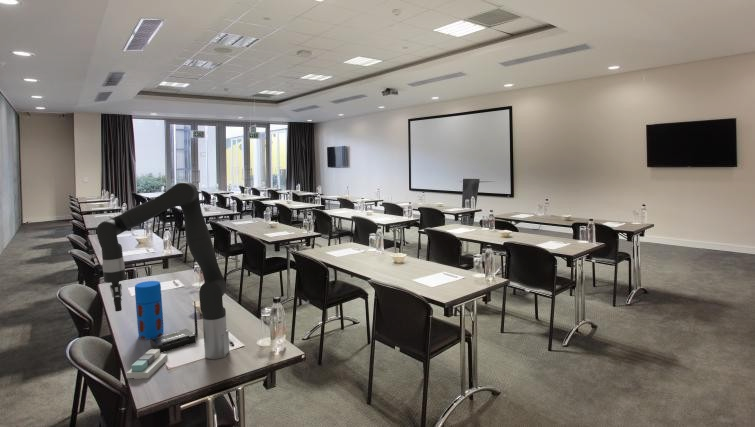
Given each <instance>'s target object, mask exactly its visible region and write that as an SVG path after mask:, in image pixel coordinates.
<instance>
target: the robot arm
mask: <svg viewBox="0 0 755 427" xmlns="http://www.w3.org/2000/svg"><path fill="white" fill-rule="evenodd" d="M176 207H180V209H181V211H182V214H183V219H184V233H185V238H186V242H187V246H188V249H189V252H190V254H191V256H192V258H193V259H194V260H195V262H196V263H197V266H199V268H200V270H201V273H202V276H203V280H204V281H203V282H204V283H203V284H202V285H201V286H200V288H199V291H198V292H199V293H198V296H199V307H200V313H201V314H202V328H203V329H202V330H203V331H202V332H203V343H204V344H203V345H204V358H206V359H207V360H217V359H222V358H226V357H227V355H228V354H229V352H230V337H229V330H227V315H226V314H227V313H226V308H225V307H224V303H223V296H224V295H225V293H226V292H227V284H226V280H225V279H224V276H223V274H222V270H221V269H220V267H219V263H218V259H217V255H216V252H215V248H214V244H213V240H212V237H211V233H210V231H209V227H208V226H207V222H206V220H205V217H204V214H203V212H202V211H203V210H202V207H201V203H200V197H199V191H198V188H197V187H196V185H195V184H193V183H192V182H190V181H181V182H177V183H175V184H174V185H173V186H171V188H169V189H167V190H166V191H164V192H163V193H162V194H160V195H158V196H156V197H154V198H152V199H149V200H147V201H145V202H142V203H140V204H138V205H136V206H134V207H132V208H129V209H127V210H126V211H124V212H122V213H121V214H119V215H116V216H115V217H112V218H110V219H106V220H104V221H102V222H100V223H98V225H97V227H96V236H97V239H98V240H97V241H98V243H99V245H100V249H101V257H102V263H101V264H102V273H103V274H102V276H103V281H104V282H105V283H107V284H109V283H111V284H110V285H109V289H110V294H111V298H113V305H114V311H115V312H121V311H123V309H122V308H123V307H122V301H123V300H122V295H123V293H122V291H123V290H122V288H123V285H122V283H120V282H123V281H125V280H126V276H127V275H126V266H125V260H124V255H123V247H122V245H121V244H120V242H119V240H118V235H121V234H122V233H124V232H127V231H128V230H130V229H131V228H132V229H133V228H135V227H137V226H139V225H142V224H143V223H146V222H148V221H150V220H151V219H153V218H154V217H157V216H158V215H160V214H161V213H163V212H165V211H168V210H170V209H173V208H176Z"/></svg>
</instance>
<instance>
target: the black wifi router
mask: <svg viewBox="0 0 755 427" xmlns="http://www.w3.org/2000/svg"><path fill="white" fill-rule="evenodd" d="M193 305H194V308H193V309H194V311H193V313H194V332H191V331H190V330H189V329H188V328H183V329H181V330H177V331H174V332H170V333H166V334H162V335H161V336H158V337H154V338H150V339H149V340H150V348H151V349H160V354H162V353H161V352H163V353H165V352H164V351H166V352H169V351H172V349H173V350H176V349H178V348H183V347H185V346H189V345H192V344H196V343H197V339H196V336H199V334H198V330H199V329H198V316H197V304H196V301H193Z"/></svg>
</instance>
